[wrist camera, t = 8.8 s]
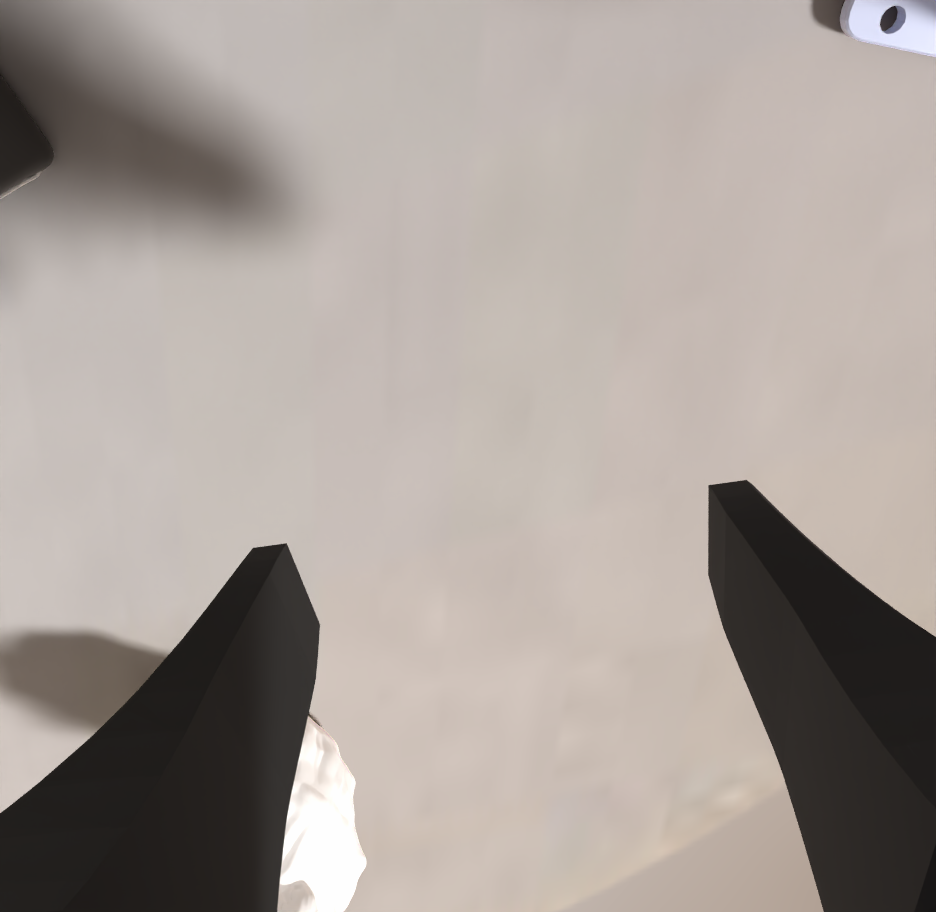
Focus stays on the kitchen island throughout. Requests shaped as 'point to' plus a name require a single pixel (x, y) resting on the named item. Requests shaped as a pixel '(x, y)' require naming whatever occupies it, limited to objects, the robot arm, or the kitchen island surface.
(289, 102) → the kitchen island surface
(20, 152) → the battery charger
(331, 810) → the bust
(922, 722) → the robot arm
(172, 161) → the kitchen island surface
